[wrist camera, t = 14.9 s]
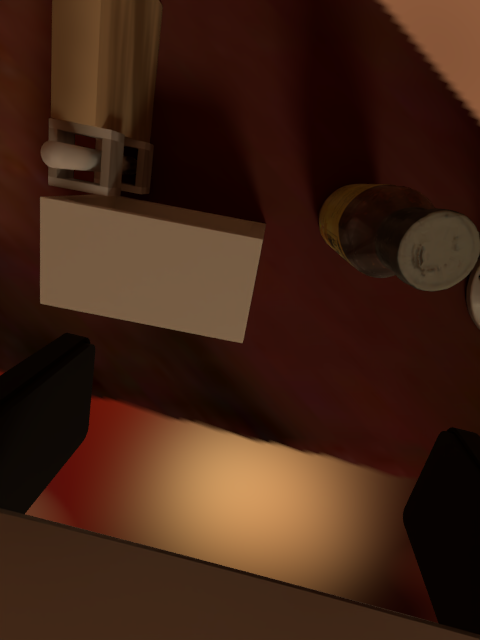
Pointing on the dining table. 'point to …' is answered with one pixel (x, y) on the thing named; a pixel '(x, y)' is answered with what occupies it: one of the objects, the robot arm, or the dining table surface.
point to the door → (105, 86)
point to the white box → (145, 256)
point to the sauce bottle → (399, 235)
